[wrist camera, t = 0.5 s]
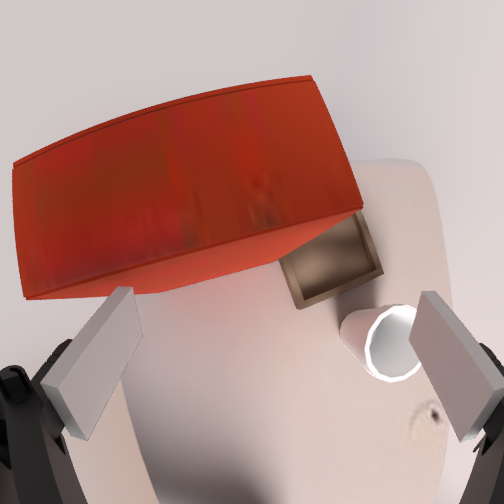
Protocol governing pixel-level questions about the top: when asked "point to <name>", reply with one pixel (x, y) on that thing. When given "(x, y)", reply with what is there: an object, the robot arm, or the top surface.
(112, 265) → the file binder
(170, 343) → the top surface
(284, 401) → the top surface
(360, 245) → the square wooden tray
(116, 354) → the robot arm
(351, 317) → the foam cup
